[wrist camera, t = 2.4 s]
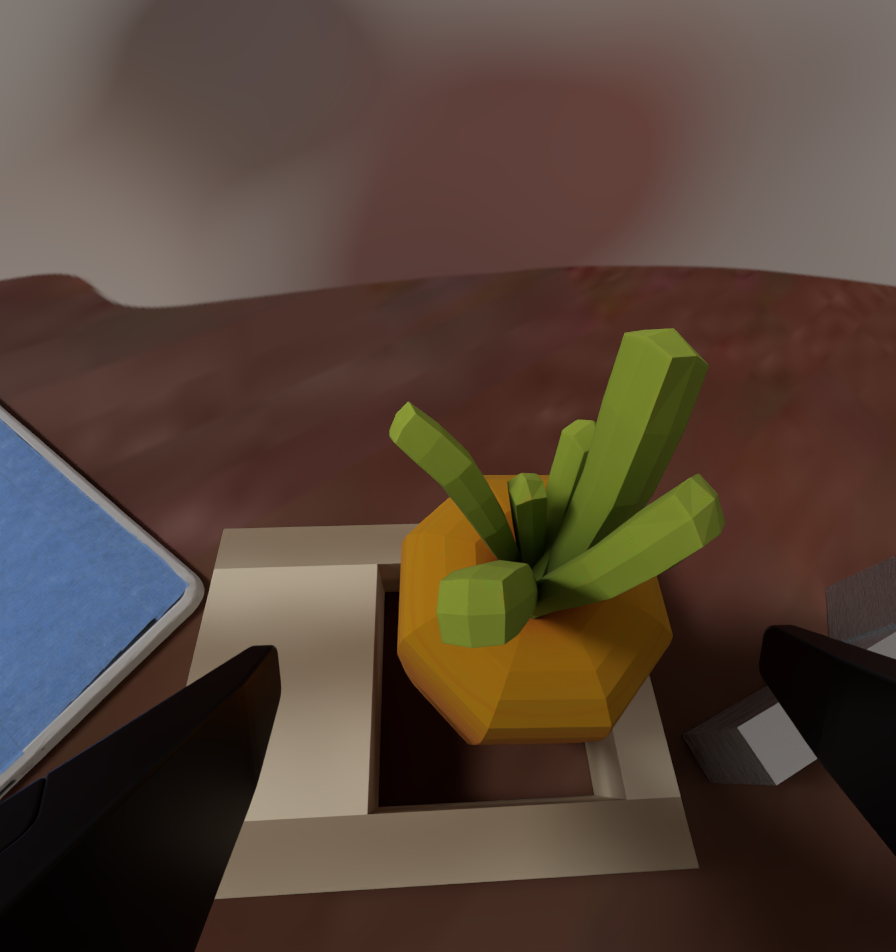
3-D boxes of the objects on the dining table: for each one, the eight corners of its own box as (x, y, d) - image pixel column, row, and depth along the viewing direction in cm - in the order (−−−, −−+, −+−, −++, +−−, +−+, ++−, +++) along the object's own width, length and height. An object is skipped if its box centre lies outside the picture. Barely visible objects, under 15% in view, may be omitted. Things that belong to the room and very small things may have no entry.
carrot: (442, 792, 15) (500, 906, 2) (390, 645, 17) (283, 315, 5) (573, 723, 16) (1075, 556, 4) (508, 595, 19) (669, 223, 6)
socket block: (651, 850, 14) (698, 867, 12) (189, 880, 14) (134, 904, 11) (586, 551, 20) (609, 519, 17) (251, 561, 19) (223, 529, 17)
